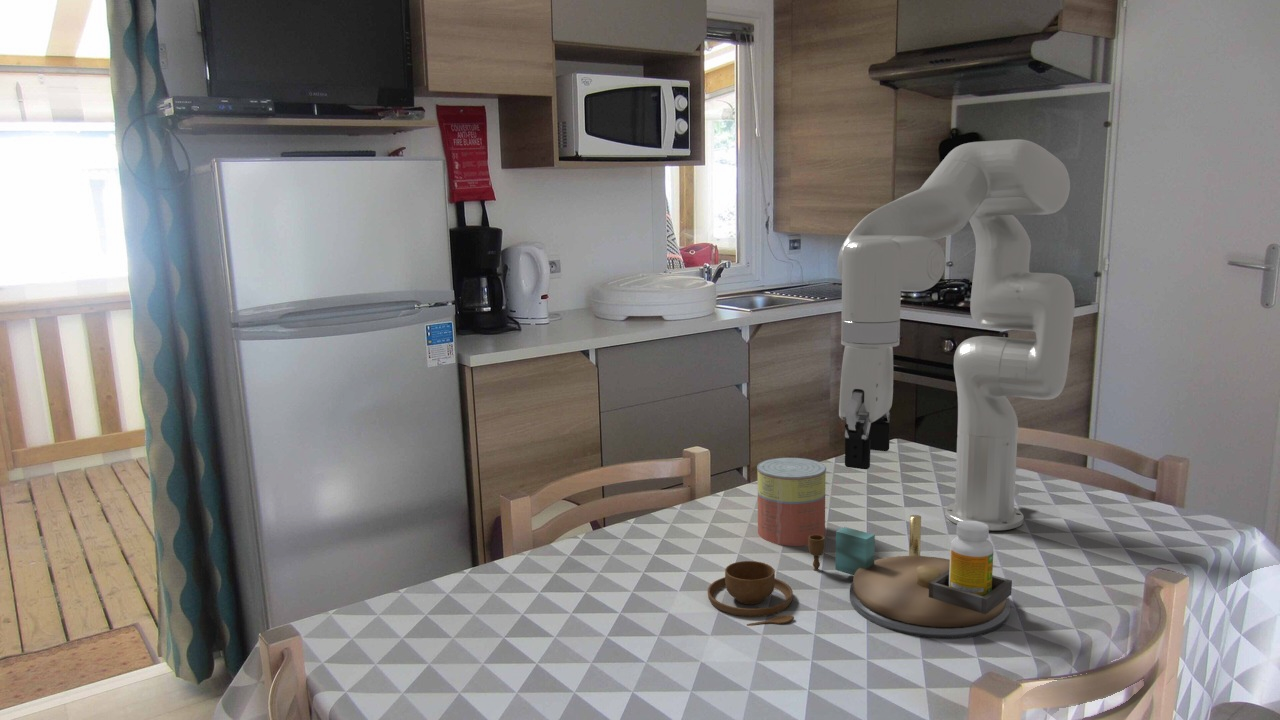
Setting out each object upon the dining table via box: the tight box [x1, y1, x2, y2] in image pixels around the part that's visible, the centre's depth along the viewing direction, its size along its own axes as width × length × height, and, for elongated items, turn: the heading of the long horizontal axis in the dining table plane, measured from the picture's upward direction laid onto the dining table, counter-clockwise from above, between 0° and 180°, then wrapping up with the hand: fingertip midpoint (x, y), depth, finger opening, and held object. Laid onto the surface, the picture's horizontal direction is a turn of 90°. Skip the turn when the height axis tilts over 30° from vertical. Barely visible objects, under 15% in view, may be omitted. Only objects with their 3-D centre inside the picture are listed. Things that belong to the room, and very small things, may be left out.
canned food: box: [756, 456, 827, 547], centre depth 151 cm, size 11×11×12 cm
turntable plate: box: [835, 526, 1013, 627], centre depth 127 cm, size 24×20×6 cm
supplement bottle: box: [949, 520, 995, 597], centre depth 121 cm, size 5×5×10 cm
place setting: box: [707, 535, 826, 627], centre depth 129 cm, size 18×20×6 cm
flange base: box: [849, 514, 1010, 639], centre depth 125 cm, size 21×21×8 cm
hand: (867, 458), depth 123 cm, fingers open, 9 cm apart
